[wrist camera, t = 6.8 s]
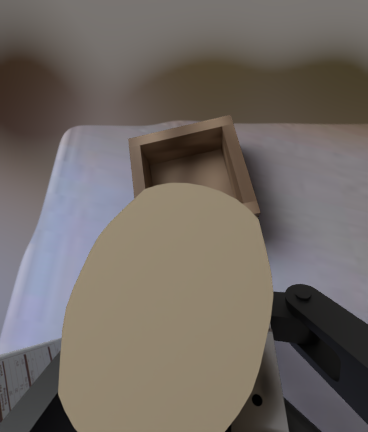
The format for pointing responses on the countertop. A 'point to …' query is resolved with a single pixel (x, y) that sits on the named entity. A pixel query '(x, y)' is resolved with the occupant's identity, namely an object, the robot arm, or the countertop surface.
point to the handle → (167, 316)
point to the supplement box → (23, 371)
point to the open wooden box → (194, 160)
